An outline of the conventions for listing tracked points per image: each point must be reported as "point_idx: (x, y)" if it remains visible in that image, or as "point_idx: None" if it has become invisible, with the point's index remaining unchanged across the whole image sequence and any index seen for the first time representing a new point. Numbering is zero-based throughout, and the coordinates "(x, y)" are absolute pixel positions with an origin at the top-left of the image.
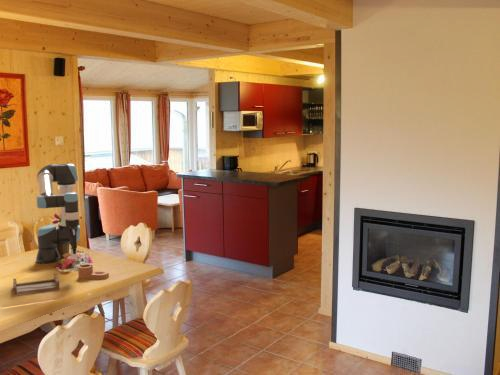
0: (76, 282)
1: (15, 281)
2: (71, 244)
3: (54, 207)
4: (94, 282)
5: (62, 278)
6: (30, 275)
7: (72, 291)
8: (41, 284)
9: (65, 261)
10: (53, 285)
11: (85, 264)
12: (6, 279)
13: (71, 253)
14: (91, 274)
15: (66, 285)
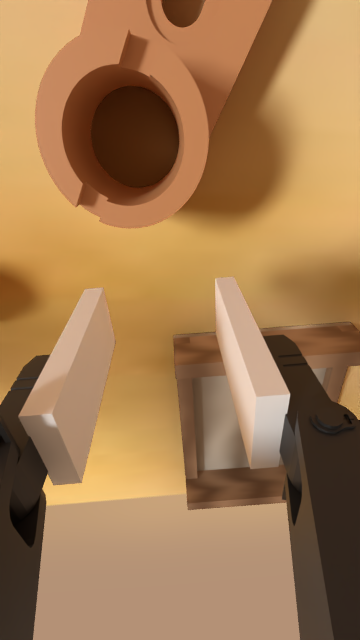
0: (259, 224)
1: (233, 501)
2: (39, 517)
3: None
4: (343, 66)
5: (126, 309)
6: None
7: None
8: (218, 400)
9: None
10: None
11: (59, 135)
12: (71, 499)
13: (107, 371)
14: (221, 79)
15: (290, 287)
